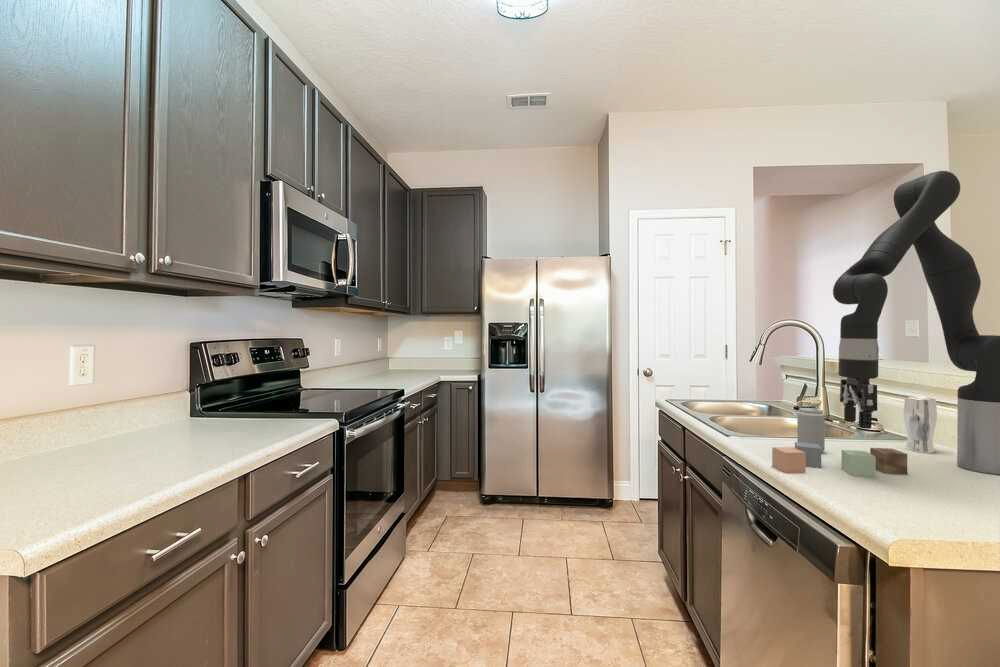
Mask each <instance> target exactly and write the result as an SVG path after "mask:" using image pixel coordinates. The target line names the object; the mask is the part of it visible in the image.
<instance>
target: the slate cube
mask: <svg viewBox="0 0 1000 667" xmlns="http://www.w3.org/2000/svg"><path fill="white" fill-rule="evenodd" d="M794 448H795V449H798V450H800V451H803V452H806V467H807V466H809V467H808V468H816V467H817V468H818V469H822V453H821V448H820V446H819V445H818V444H811V443H801V442H797V441H794Z"/></svg>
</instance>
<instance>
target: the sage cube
mask: <svg viewBox="0 0 1000 667" xmlns="http://www.w3.org/2000/svg"><path fill="white" fill-rule="evenodd" d="M841 471H843V472H844V473H846V474H847V475H849V476H851V477H861V478H862V477H863V478H873V479H876V471H877V470H876V457H875V456H873V455H871V454H870V452H867V451H865V450H852V449H851V450H849V449H841Z"/></svg>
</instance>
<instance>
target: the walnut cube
mask: <svg viewBox="0 0 1000 667" xmlns="http://www.w3.org/2000/svg"><path fill="white" fill-rule="evenodd" d="M869 453H870V454H871V455H873V456H875V457H876V471H878V472H880V473H882V474H884V475H885V474H889V475H908V453H906V452H902V451H900V450H897V449H895V448H891V447H890V448H888V447H887V448H885V447H870V449H869Z"/></svg>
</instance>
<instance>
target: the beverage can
mask: <svg viewBox="0 0 1000 667" xmlns="http://www.w3.org/2000/svg"><path fill="white" fill-rule="evenodd" d="M796 416H797V418H796V419H797V420H796V421H797V425H796V426H797V428H796V429H797V431H796V432H797V441H796V442H801V443H811V444H818V445H819V446H820V448H821V454H822V453H823V452H825V450H826V449H825V446H826V444H825V443H826V442H825V440H826V439H825V432H826V431H825V424H826V423H825V420H826V419H825V414H824V411H823V409H820V408H813V407H812V408H811V407H800V408H798V411H797V415H796Z"/></svg>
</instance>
